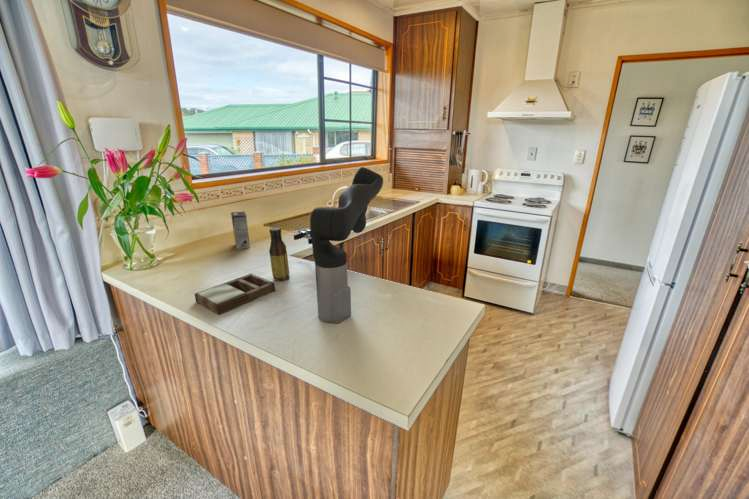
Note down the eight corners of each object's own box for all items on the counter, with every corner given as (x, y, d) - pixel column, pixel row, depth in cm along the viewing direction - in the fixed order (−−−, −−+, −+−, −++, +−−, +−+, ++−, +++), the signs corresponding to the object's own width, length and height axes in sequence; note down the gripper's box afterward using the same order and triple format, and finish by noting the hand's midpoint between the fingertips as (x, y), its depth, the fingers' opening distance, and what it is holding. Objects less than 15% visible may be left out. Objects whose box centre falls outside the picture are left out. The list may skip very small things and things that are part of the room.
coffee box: (235, 243, 170) (230, 212, 165) (248, 242, 173) (245, 211, 167) (236, 249, 162) (231, 216, 157) (250, 247, 165) (246, 215, 159)
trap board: (275, 290, 120) (274, 282, 119) (218, 314, 104) (217, 305, 103) (251, 280, 128) (250, 272, 127) (196, 301, 112) (194, 292, 111)
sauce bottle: (282, 273, 134) (277, 225, 128) (293, 277, 131) (288, 227, 124) (268, 279, 129) (263, 228, 123) (279, 283, 126) (274, 231, 119)
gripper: (318, 219, 149) (288, 227, 137) (342, 224, 141) (313, 233, 129) (319, 235, 152) (290, 245, 140) (342, 241, 144) (314, 252, 132)
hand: (301, 239), depth 134 cm, fingers open, 8 cm apart
